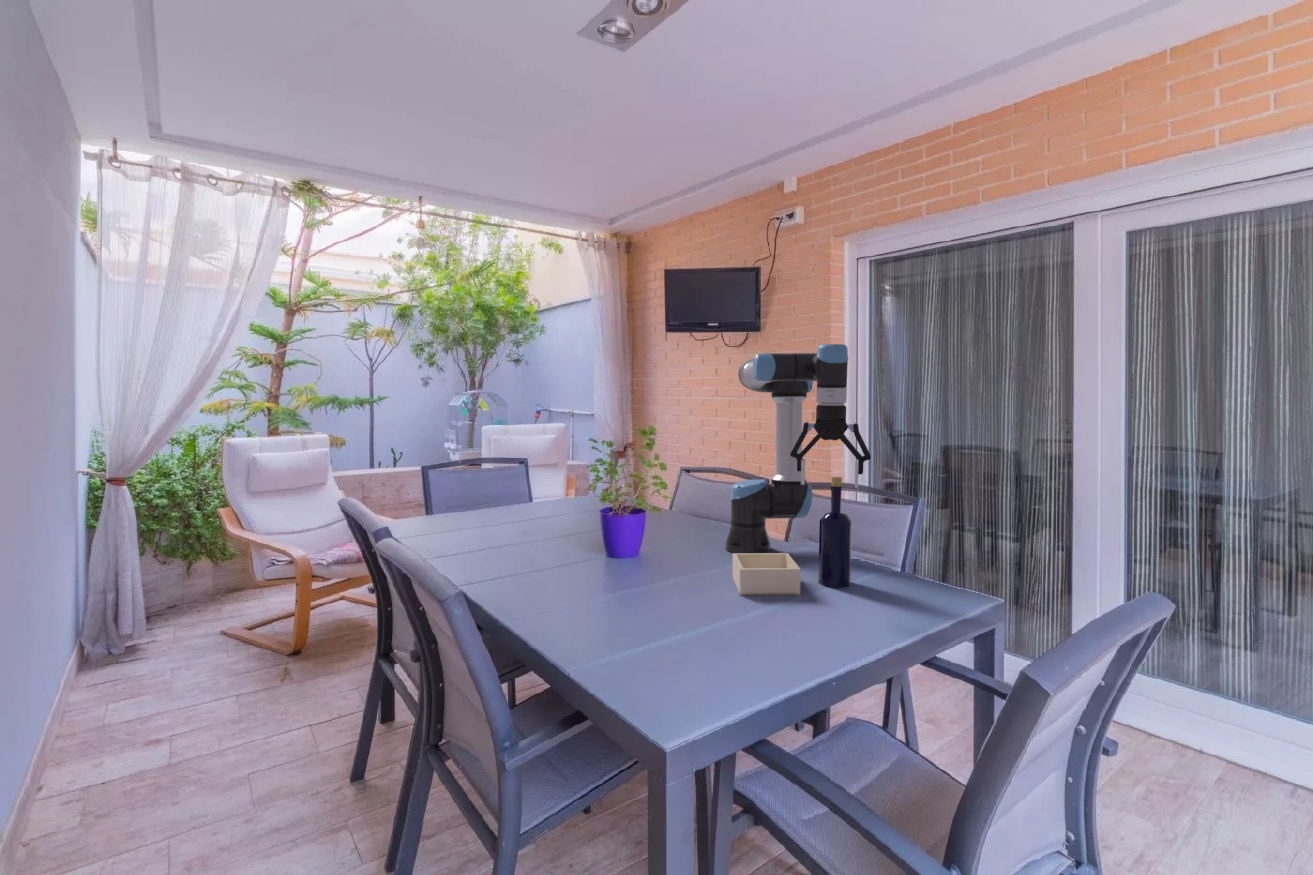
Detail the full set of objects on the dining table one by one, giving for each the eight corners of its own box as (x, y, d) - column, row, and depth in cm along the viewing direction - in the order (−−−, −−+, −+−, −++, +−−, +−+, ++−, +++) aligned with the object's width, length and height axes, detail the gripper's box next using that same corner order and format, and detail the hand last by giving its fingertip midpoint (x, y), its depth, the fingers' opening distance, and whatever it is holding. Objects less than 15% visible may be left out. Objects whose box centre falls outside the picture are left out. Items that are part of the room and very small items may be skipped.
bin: (732, 576, 184) (732, 553, 183) (787, 576, 184) (787, 553, 183) (739, 595, 168) (740, 569, 167) (800, 595, 168) (800, 569, 167)
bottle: (848, 578, 182) (850, 475, 179) (854, 588, 173) (857, 480, 170) (815, 577, 183) (817, 474, 180) (820, 587, 174) (822, 479, 171)
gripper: (780, 404, 164) (779, 484, 166) (882, 405, 156) (879, 490, 158) (784, 403, 171) (783, 480, 173) (882, 404, 163) (879, 485, 165)
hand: (829, 485), depth 166 cm, fingers open, 13 cm apart
